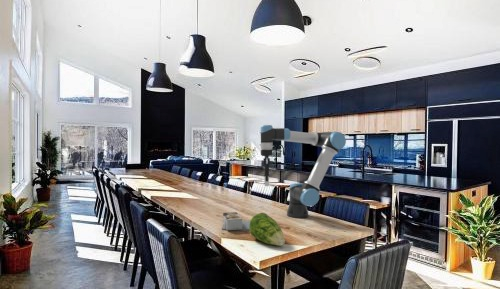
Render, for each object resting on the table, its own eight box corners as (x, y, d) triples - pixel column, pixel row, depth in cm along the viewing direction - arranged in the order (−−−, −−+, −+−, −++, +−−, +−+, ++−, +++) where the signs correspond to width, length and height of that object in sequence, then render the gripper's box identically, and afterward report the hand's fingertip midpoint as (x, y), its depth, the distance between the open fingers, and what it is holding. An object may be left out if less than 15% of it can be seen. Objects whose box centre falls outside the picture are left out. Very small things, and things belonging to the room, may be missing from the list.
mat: (253, 222, 194) (253, 221, 194) (252, 230, 176) (252, 229, 176) (225, 221, 194) (225, 220, 194) (221, 229, 176) (221, 228, 176)
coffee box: (227, 219, 173) (222, 212, 188) (227, 230, 173) (222, 222, 188) (242, 218, 175) (236, 211, 191) (242, 229, 175) (236, 221, 191)
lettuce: (271, 259, 145) (272, 235, 142) (244, 236, 164) (245, 214, 161) (293, 249, 153) (294, 226, 150) (265, 228, 172) (266, 207, 168)
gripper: (260, 148, 198) (260, 184, 199) (260, 149, 185) (261, 187, 186) (271, 148, 198) (272, 184, 199) (273, 149, 185) (273, 187, 186)
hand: (266, 186), depth 192 cm, fingers closed
